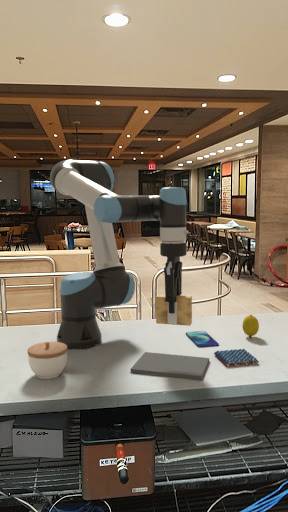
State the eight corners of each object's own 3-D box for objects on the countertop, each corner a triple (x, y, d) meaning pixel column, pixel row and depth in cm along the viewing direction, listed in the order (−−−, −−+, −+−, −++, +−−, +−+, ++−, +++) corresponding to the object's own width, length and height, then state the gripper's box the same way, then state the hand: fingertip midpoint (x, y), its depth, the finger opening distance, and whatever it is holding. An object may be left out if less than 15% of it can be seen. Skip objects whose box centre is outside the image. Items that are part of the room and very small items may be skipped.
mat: (130, 372, 119) (130, 368, 119) (145, 355, 132) (145, 352, 132) (201, 380, 113) (201, 376, 113) (209, 361, 127) (209, 358, 126)
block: (156, 323, 125) (155, 296, 124) (158, 320, 127) (158, 294, 126) (189, 325, 122) (189, 298, 121) (191, 322, 124) (191, 296, 124)
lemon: (239, 335, 150) (239, 313, 149) (251, 333, 152) (252, 312, 151) (248, 340, 145) (249, 317, 144) (262, 338, 147) (262, 315, 146)
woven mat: (260, 366, 124) (260, 359, 123) (225, 369, 122) (226, 362, 121) (245, 353, 134) (245, 347, 134) (213, 356, 132) (213, 350, 132)
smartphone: (198, 346, 139) (184, 332, 153) (198, 349, 139) (184, 334, 153) (220, 344, 140) (204, 330, 155) (219, 347, 140) (204, 333, 155)
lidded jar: (70, 366, 124) (69, 335, 122) (64, 382, 113) (63, 348, 112) (33, 367, 123) (32, 336, 122) (24, 383, 113) (22, 349, 112)
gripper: (180, 244, 113) (180, 330, 116) (191, 239, 128) (191, 315, 131) (153, 244, 115) (154, 328, 118) (167, 239, 130) (168, 314, 133)
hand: (173, 321), depth 124 cm, fingers closed on block, 3 cm apart
